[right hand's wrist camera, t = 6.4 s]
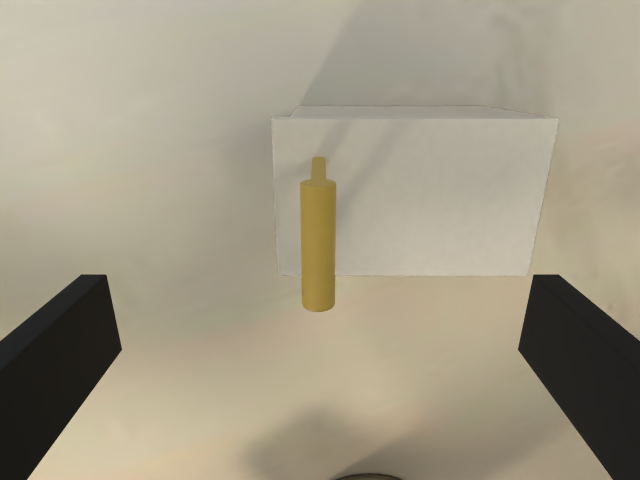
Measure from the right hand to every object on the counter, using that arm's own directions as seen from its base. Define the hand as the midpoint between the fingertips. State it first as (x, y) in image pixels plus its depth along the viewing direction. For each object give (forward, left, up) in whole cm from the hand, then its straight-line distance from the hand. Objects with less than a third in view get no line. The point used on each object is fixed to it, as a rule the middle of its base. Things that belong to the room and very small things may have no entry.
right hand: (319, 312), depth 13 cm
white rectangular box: (+3, -4, -13) cm, 14 cm away
